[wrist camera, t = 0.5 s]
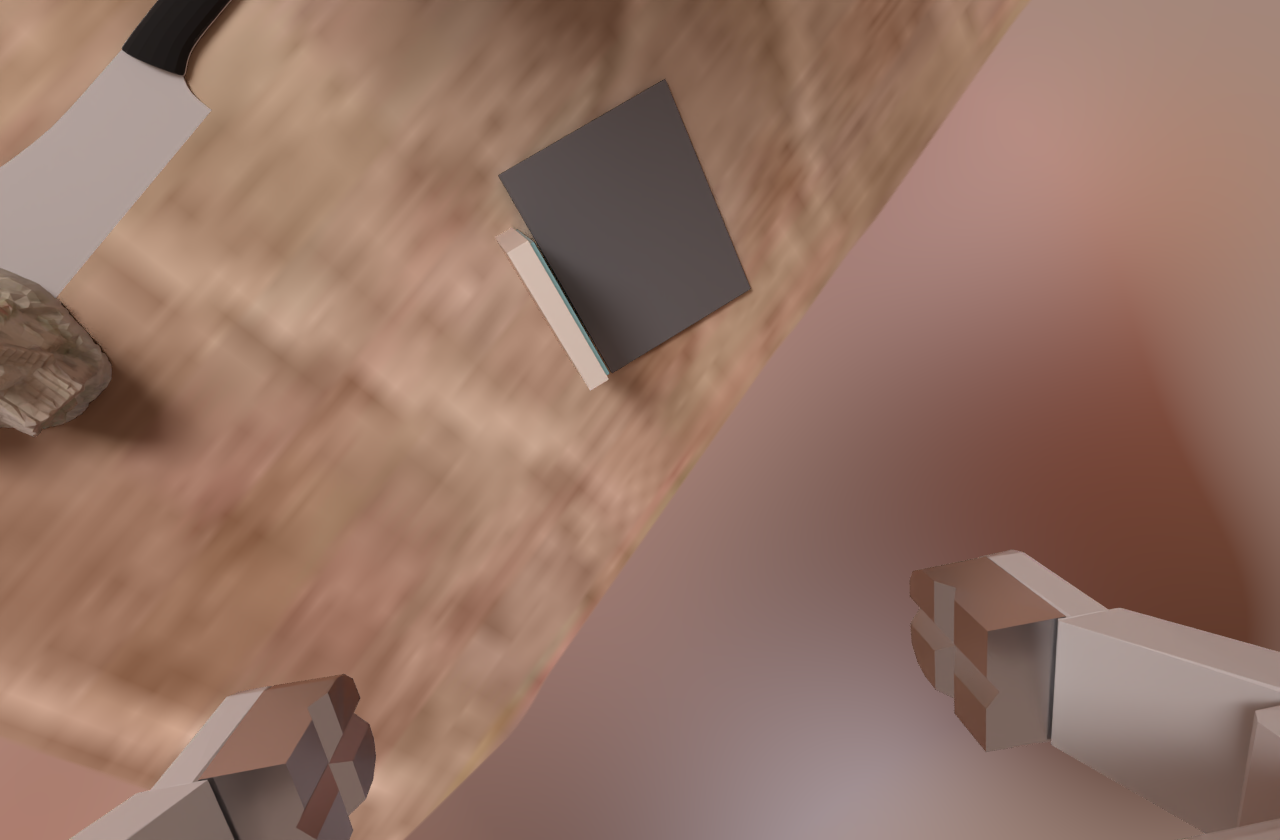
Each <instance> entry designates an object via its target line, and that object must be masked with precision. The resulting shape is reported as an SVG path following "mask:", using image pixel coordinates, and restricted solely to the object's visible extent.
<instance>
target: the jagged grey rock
mask: <svg viewBox="0 0 1280 840" xmlns="http://www.w3.org/2000/svg"><path fill="white" fill-rule="evenodd" d="M111 366H112V365H111V364H110V362H109V361H108V357H107V356H106V354H105V353H103V352H101V348H100V347H99V345H98V344H97V345H96V344H95V343H94V342H93V339H92V338H91V337H90V336H89V333H88V332H86V331H85V330H84V328H83V327H81V326H80V325H79V324H78V323H77V321H76V320H75V319H74V318H73V317H72V316H71V315H70V314H69V311H68V310H67V309H66V308H64V307H63V305H61V302H60V301H59V300H58V299H57V298H55V297H53V296H52V295H51V293H49V292H48V291H46V289H44V288H43V287H42V286H41V285H40V284H38V283H36V282H34V281H31V280H29V279H26V278H24V277H22V276H19V275H17V274H15V273H12V272H10V271H7V270H5V269H2V268H0V428H1V427H5V428H15V429H17V430H19V431H20V432H23V433H25V434H28V435H31V436H33V437H36V436H37V435H38V434H40V433H41V430H42V428H43V429H46V428H48V427H50V426H57V425H61V424H64V423H66V422H69V421H70V420H73V419H75V418H76V417H77V416H78V415H81V414H82V413H83V411H85V410H86V408H87V407H88V406H89V405H88V403H89V402H91V401H92V400H94V399H96V398H97V396H98V395H100V394H101V392H102V391H103V390H104V389H105V388H106V387H107V386H108V384H109V382H110V381H111V379H112V377H111V375H112V368H111Z"/></svg>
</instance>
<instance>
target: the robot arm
mask: <svg viewBox="0 0 1280 840" xmlns="http://www.w3.org/2000/svg"><path fill="white" fill-rule="evenodd" d="M910 597H911V598H912V599H913V601H914V602H915V603H916V604H917V605H918V606H919V607H920V609H919V611H918V612H917V614H916V615H915V617H914V618H913V620H912V621H911V623H910V624H911V639H912V645H913V649H914V652H915V655H916V658H917V662H918V664H919V666H920V668H921V669H922V671H923V673H924V675H925V677H926V678H927V679H928V681H929V682H930V683H931V684H932V686H933V687H934V688H935V690H937V691H939V692H942V693H944V694H946V695H948V696H950V697H952V698H954V713H955V715H957V717H958V718H959V720H960V721H961V722H962V723H963V724H964V726H965V727H966V728H967V729H968V731H969V732H970V733H971V734H972V735H973V737H974V738H975V739H976V741H977V742H978V743H979V744H980V745H981V746H982V748H983V749H984V750H985V751H986V752H989V751H995V750H1001V749H1007V748H1013V747H1019V746H1025V745H1031V744H1037V743H1043V742H1049V741H1051V745H1052V746H1054V747H1056V748H1058V749H1059V750H1061V751H1063V752H1065V753H1066V754H1068V755H1070V756H1072V757H1073V758H1075V759H1077V760H1079V761H1080V762H1082V763H1084V764H1086V765H1087V766H1089V767H1091V768H1092V769H1094V770H1096V771H1098V772H1099V773H1101V774H1103V775H1105V776H1107V777H1108V778H1110V779H1112V780H1113V781H1115V782H1117V783H1119V784H1120V785H1122V786H1124V787H1126V788H1127V789H1129V790H1131V791H1133V792H1134V793H1136V794H1138V795H1140V796H1141V797H1143V798H1145V799H1146V800H1148V801H1150V802H1152V803H1153V804H1155V805H1157V806H1159V807H1160V808H1162V809H1164V810H1166V811H1167V812H1169V813H1171V814H1173V815H1174V816H1176V817H1178V818H1179V819H1181V820H1183V821H1185V822H1186V823H1188V824H1190V825H1192V826H1193V827H1195V828H1197V829H1199V830H1201V831H1202V832H1204V833H1206V834H1203V835H1198V836H1193V837H1189V838H1184V839H1179V840H1280V652H1277V651H1274V650H1270V649H1267V648H1263V647H1259V646H1256V645H1252V644H1249V643H1244V642H1241V641H1238V640H1234V639H1230V638H1227V637H1223V636H1220V635H1216V634H1213V633H1209V632H1205V631H1202V630H1198V629H1195V628H1191V627H1187V626H1183V625H1180V624H1177V623H1173V622H1169V621H1166V620H1162V619H1159V618H1155V617H1151V616H1148V615H1144V614H1141V613H1137V612H1133V611H1130V610H1126V609H1122V608H1115V609H1110V610H1108V609H1106V608H1105V607H1103V606H1102V605H1101V604H1099V603H1097V602H1096V601H1095V600H1093V599H1092V598H1090V597H1089V596H1087V595H1086V594H1084V593H1083V592H1081V591H1080V590H1078V589H1077V588H1075V587H1074V586H1072V585H1071V584H1070V583H1068V582H1067V581H1065V580H1064V579H1062V578H1061V577H1059V576H1057V575H1056V574H1055V573H1053V572H1052V571H1050V570H1049V569H1047V568H1046V567H1044V566H1043V565H1041V564H1040V563H1039V562H1037V561H1036V560H1034V559H1033V558H1031V557H1030V556H1028V555H1027V554H1025V553H1024V552H1020V551H1016V550H1009V551H1004V552H1000V553H996V554H991V555H986V556H982V557H979V558H975V559H970V560H965V561H960V562H955V563H950V564H946V565H941V566H935V567H930V568H925V569H920V570H915V571H913V572H912V575H911V578H910ZM359 700H360V696H359V693H358V690H357V688H356V685H355V683H354V680H353V678H351V677H349V676H347V675H345V674H341V675H335V676H329V677H323V678H316V679H310V680H304V681H298V682H292V683H285V684H279V685H274V686H267V687H261V688H256V689H251V690H245V691H240V692H237V693H235V694H232V695H230V696H228V697H226V698H225V700H224V701H223V702H222V703H221V704H220V706H219V707H218V708H217V709H216V711H215V712H214V713H213V714H212V715H211V717H210V718H209V719H208V720H207V722H206V723H205V724H204V725H203V726H202V728H201V729H200V730H199V731H198V733H197V734H196V735H195V736H194V737H193V739H192V740H191V741H190V742H189V744H188V745H187V746H186V747H185V748H184V750H183V751H182V752H181V753H180V755H179V756H178V757H177V758H176V759H175V761H174V762H173V763H172V764H171V766H170V767H169V768H168V769H167V770H166V772H165V773H164V774H163V775H162V777H161V778H160V779H159V780H158V781H157V783H156V784H155V785H154V786H153V788H152V789H151V790H150V791H145V792H140V793H137V794H135V795H133V796H132V797H130V798H129V799H128V800H126V801H125V802H123V803H122V804H120V805H119V806H117V807H116V808H114V809H113V810H111V811H110V812H109V813H107V814H106V815H104V816H103V817H101V818H100V819H98V820H97V821H95V822H94V823H92V824H91V825H89V826H88V827H86V828H85V829H83V830H82V831H80V832H79V833H78V834H76V835H75V836H73V837H72V838H70V839H69V840H349V839H350V837H351V834H352V832H353V828H352V825H351V822H350V820H349V817H348V816H349V815H350V814H351V813H352V812H353V811H354V810H355V809H356V808H357V807H358V806H359V805H360V804H361V803H362V802H363V801H364V800H365V799H366V797H367V794H368V792H369V789H370V786H371V784H372V781H373V776H374V768H375V760H376V752H375V743H374V737H373V734H372V731H371V728H370V725H369V724H368V723H367V722H366V721H364V720H363V719H361V718H360V717H359V716H357V715H356V714H354V711H355V709H356V707H357V705H358V702H359Z"/></svg>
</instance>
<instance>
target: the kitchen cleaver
mask: <svg viewBox="0 0 1280 840" xmlns="http://www.w3.org/2000/svg"><path fill="white" fill-rule="evenodd" d="M230 1H231V0H158V1H157V2H156V3H155V4H154V6H153V7H152V8H151V9H150V11H149V12H148V13H147V14H146V16H145V17H144V18H143V19H142V21H141V22H140V23H139V25H138V26H137V27H136V28H135V30H134V31H133V32H132V34H131V35H130V36H129V38H128V39H127V40H126V42H125V43H124V45H123V47H122V50H121V51H120V52H119V53H118V54H117V56H116V57H115V58H114V59H113V60H112V61H111V62H110V63H109V65H108V66H107V67H106V68H105V69H104V70H103V71H102V73H101V74H100V75H99V76H98V77H97V78H96V80H95V81H94V82H93V83H92V84H91V85H90V86H89V87H88V89H87V90H86V91H85V92H84V93H83V94H82V95H81V97H80V98H79V99H78V100H77V101H76V102H75V103H74V104H73V105H72V107H71V108H70V109H69V110H68V111H67V112H66V113H65V114H64V115H63V116H62V117H61V118H60V119H59V120H58V121H57V122H56V123H55V124H54V125H53V126H52V127H51V128H50V129H49V130H48V131H47V132H46V133H44V134H43V135H42V136H41V137H40V138H39V139H37V140H36V141H35V142H34V143H32V144H31V145H30V146H29V147H27V148H26V149H25V150H23V151H22V152H21V153H19V154H18V155H17V156H15V157H14V158H13V159H11V160H10V161H9V162H7V163H6V164H4V165H3V166H2V167H0V268H2V269H5V270H7V271H10V272H12V273H15V274H17V275H19V276H22V277H24V278H26V279H29V280H31V281H34V282H36V283H38V284H40V285H41V286H42V287H43V288H44V289H46V291H48V292H49V293H51V295H52V296H53V297H55V298H56V297H57V296H58V295H59V293H60V292H61V291H62V290H63V289H64V287H65V286H66V285H67V284H68V283H69V281H70V280H71V279H72V278H73V276H74V275H75V274H76V273H77V272H78V270H79V269H80V268H81V267H82V266H83V264H84V263H85V262H86V261H87V260H88V258H89V257H90V256H91V255H92V254H93V252H94V251H95V250H96V249H97V248H98V246H99V245H100V244H101V243H102V242H103V240H104V239H105V238H106V237H107V236H108V234H109V233H110V232H111V231H112V230H113V228H114V227H115V226H116V225H117V223H118V222H119V221H120V220H121V219H122V217H123V216H124V215H125V214H126V213H127V211H128V210H129V209H130V208H131V207H132V205H133V204H134V203H135V202H136V201H137V199H138V198H139V197H140V196H141V195H142V193H143V192H144V191H145V190H146V189H147V187H148V186H149V185H150V184H151V183H152V181H153V180H154V179H155V178H156V177H157V175H158V174H159V173H160V172H161V171H162V169H163V168H164V167H165V166H166V164H167V163H168V162H169V161H170V160H171V158H172V157H173V156H174V155H175V154H176V152H177V151H178V150H179V149H180V148H181V146H182V145H183V144H184V143H185V142H186V140H187V139H188V138H189V137H190V136H191V134H192V133H193V132H194V131H195V130H196V128H197V127H198V126H199V125H200V124H201V122H202V121H203V120H204V119H205V118H206V116H207V115H208V114H209V113H210V111H211V109H210V108H208V107H207V106H206V105H204V104H203V103H202V102H201V101H200V100H199V99H198V98H197V97H196V96H195V95H194V94H193V93H192V92H191V91H190V89H189V88H188V86H187V84H186V81H185V78H184V75H185V74H186V70H187V64H188V60H189V57H190V54H191V52H192V50H193V48H194V47H195V45H196V44H197V42H198V41H199V39H200V38H201V37H202V35H203V34H204V33H205V32H206V30H207V29H208V28H209V27H210V26H211V24H212V23H213V22H214V21H215V19H216V18H217V17H218V16H219V15H220V13H221V12H222V11H223V10H224V9H225V7H226V6H227V5H228V4H229V3H230Z"/></svg>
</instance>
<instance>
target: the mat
mask: <svg viewBox="0 0 1280 840" xmlns="http://www.w3.org/2000/svg"><path fill="white" fill-rule="evenodd" d="M498 176H499V178H500V180H501V181H502V183H503V185H504V186H505V188H506V190H507V192H508V193H509V195H510V197H511V199H512V200H513V202H514V204H515V206H516V207H517V209H518V211H519V213H520V214H521V216H522V218H523V220H524V221H525V223H526V225H527V227H528V228H529V230H530V232H531V233H532V235H533V237H534V239H535V240H536V242H537V244H538V246H539V247H540V249H541V251H542V253H543V254H544V256H545V258H546V260H547V261H548V263H549V265H550V267H551V268H552V270H553V272H554V273H555V275H556V277H557V279H558V280H559V282H560V284H561V286H562V287H563V289H564V291H565V293H566V294H567V296H568V298H569V300H570V301H571V303H572V305H573V307H574V308H575V310H576V312H577V314H578V315H579V317H580V319H581V320H582V322H583V324H584V326H585V327H586V329H587V331H588V333H589V334H590V336H591V338H592V340H593V341H594V343H595V345H596V347H597V348H598V350H599V352H600V354H601V355H602V357H603V359H604V361H605V362H606V364H607V366H608V367H609V369H610V371H611V372H612V373H613V372H615V371H617V370H618V369H620V368H622V367H623V366H625V365H627V364H628V363H630V362H631V361H633V360H635V359H636V358H638V357H640V356H641V355H643V354H645V353H646V352H648V351H650V350H651V349H653V348H654V347H656V346H658V345H659V344H661V343H663V342H664V341H666V340H668V339H669V338H671V337H672V336H674V335H676V334H677V333H679V332H681V331H682V330H684V329H686V328H687V327H689V326H691V325H692V324H694V323H695V322H697V321H699V320H700V319H702V318H704V317H705V316H707V315H709V314H710V313H712V312H713V311H715V310H717V309H718V308H720V307H722V306H723V305H725V304H727V303H728V302H730V301H732V300H733V299H735V298H736V297H738V296H740V295H741V294H743V293H745V292H746V291H748V290H750V289H751V288H750V286H749V284H748V281H747V279H746V276H745V274H744V271H743V269H742V266H741V264H740V261H739V259H738V257H737V254H736V252H735V249H734V247H733V244H732V242H731V239H730V237H729V234H728V232H727V230H726V227H725V225H724V222H723V220H722V217H721V215H720V212H719V210H718V207H717V205H716V203H715V200H714V198H713V195H712V193H711V190H710V188H709V185H708V183H707V180H706V178H705V176H704V173H703V171H702V168H701V166H700V163H699V161H698V158H697V156H696V153H695V151H694V149H693V146H692V144H691V141H690V139H689V136H688V134H687V131H686V129H685V126H684V124H683V122H682V119H681V117H680V114H679V112H678V109H677V107H676V104H675V102H674V99H673V97H672V95H671V92H670V90H669V87H668V85H667V82H666V80H665V79H664V80H662V81H661V82H659V83H657V84H655V85H654V86H652V87H650V88H648V89H647V90H645V91H643V92H641V93H640V94H638V95H636V96H635V97H633V98H631V99H629V100H628V101H626V102H624V103H622V104H621V105H619V106H617V107H616V108H614V109H612V110H610V111H609V112H607V113H605V114H603V115H602V116H600V117H598V118H596V119H595V120H593V121H591V122H590V123H588V124H586V125H584V126H583V127H581V128H579V129H577V130H576V131H574V132H572V133H571V134H569V135H567V136H565V137H564V138H562V139H560V140H558V141H557V142H555V143H553V144H551V145H550V146H548V147H546V148H545V149H543V150H541V151H539V152H538V153H536V154H534V155H532V156H531V157H529V158H527V159H526V160H524V161H522V162H520V163H519V164H517V165H515V166H513V167H512V168H510V169H508V170H506V171H505V172H503V173H501V174H500V175H498Z"/></svg>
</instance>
